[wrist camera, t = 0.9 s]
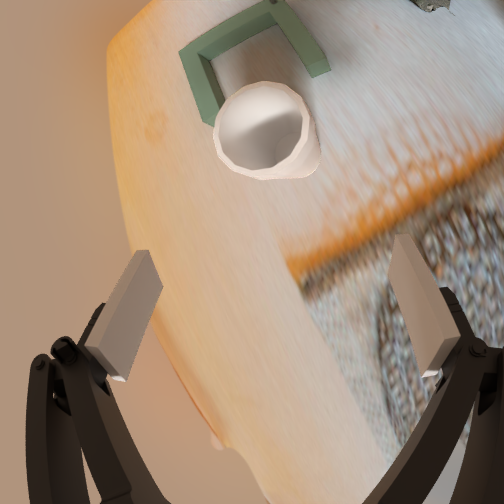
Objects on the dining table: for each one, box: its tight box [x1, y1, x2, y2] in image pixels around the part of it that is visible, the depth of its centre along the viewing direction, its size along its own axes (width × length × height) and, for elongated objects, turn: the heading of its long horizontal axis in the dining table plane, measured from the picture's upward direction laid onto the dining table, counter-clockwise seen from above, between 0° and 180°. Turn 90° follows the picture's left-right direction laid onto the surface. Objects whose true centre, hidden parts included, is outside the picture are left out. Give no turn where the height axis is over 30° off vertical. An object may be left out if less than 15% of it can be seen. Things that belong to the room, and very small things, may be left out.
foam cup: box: [213, 81, 321, 180], centre depth 30 cm, size 10×9×13 cm
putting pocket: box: [179, 0, 331, 127], centre depth 28 cm, size 16×22×18 cm
